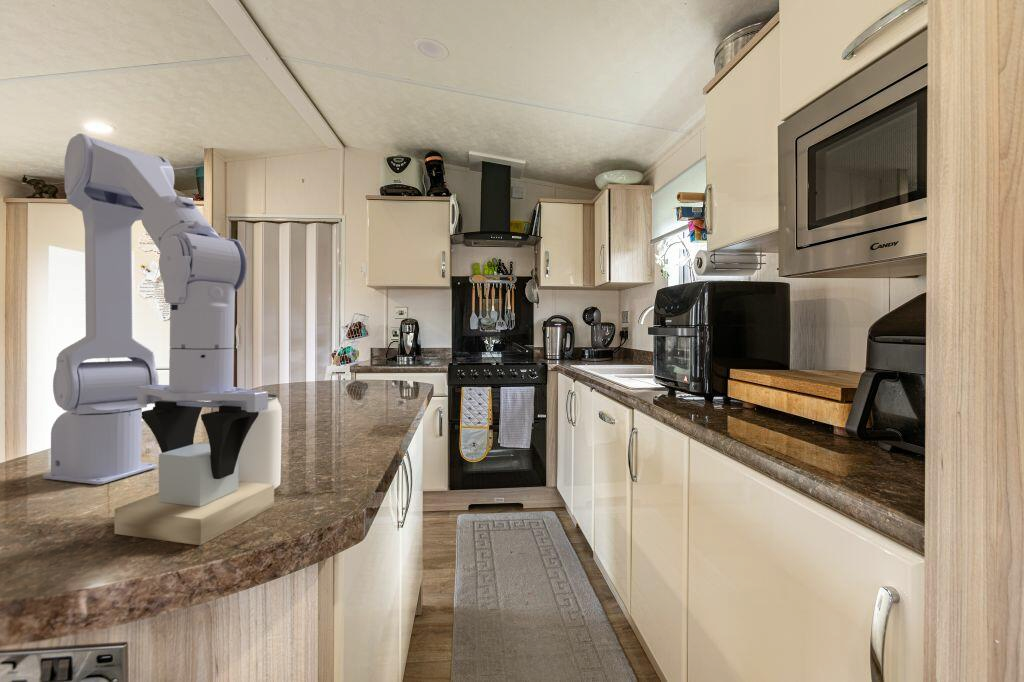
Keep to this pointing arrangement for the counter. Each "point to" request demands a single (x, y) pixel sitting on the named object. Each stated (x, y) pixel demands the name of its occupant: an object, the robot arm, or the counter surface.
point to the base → (193, 515)
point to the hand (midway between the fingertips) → (201, 473)
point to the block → (192, 477)
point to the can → (263, 447)
